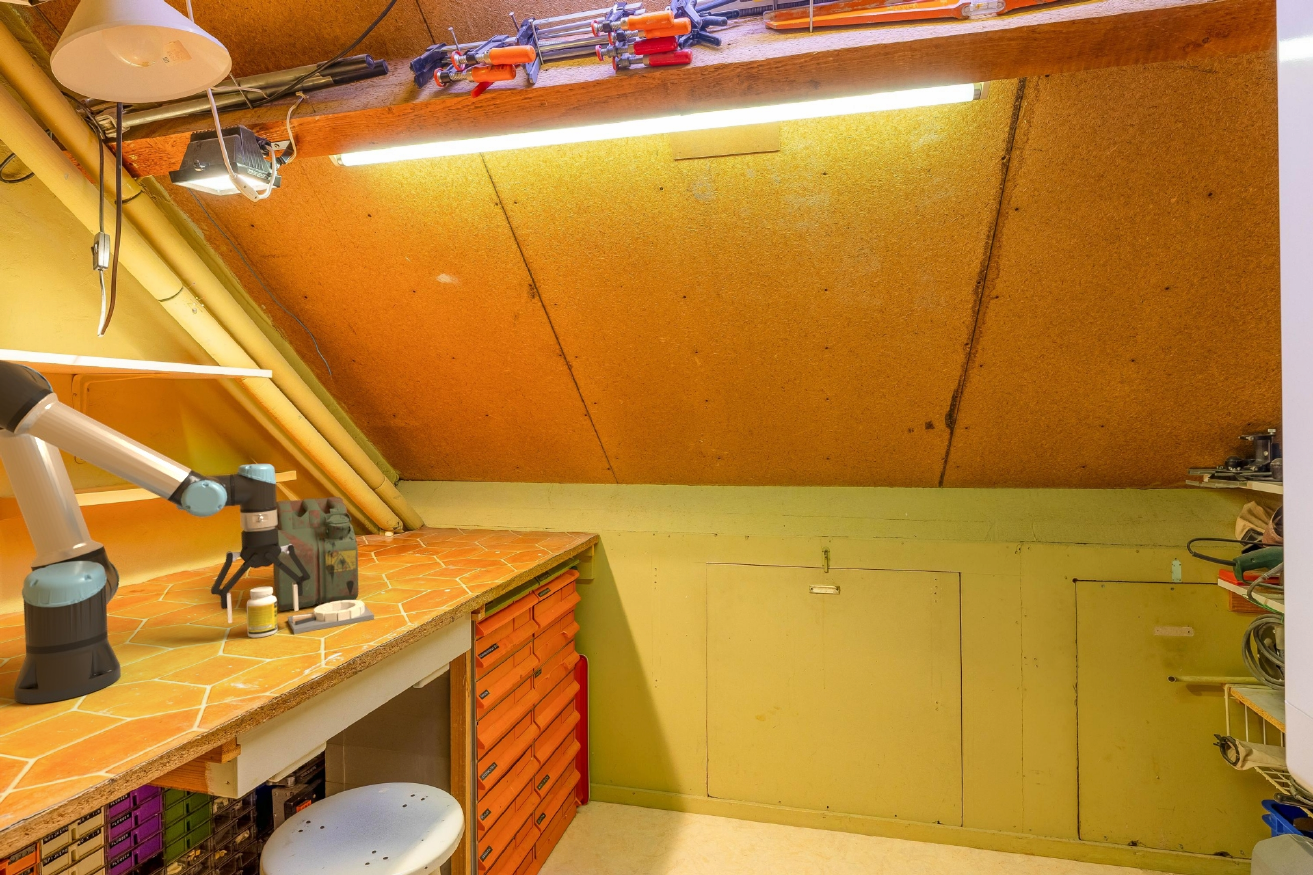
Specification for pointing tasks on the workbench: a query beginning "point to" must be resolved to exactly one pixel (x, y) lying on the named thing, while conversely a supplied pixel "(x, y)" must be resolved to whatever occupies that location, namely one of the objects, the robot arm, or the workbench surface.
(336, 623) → the junction plate
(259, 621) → the pill bottle
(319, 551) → the fuel can
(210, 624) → the workbench surface
